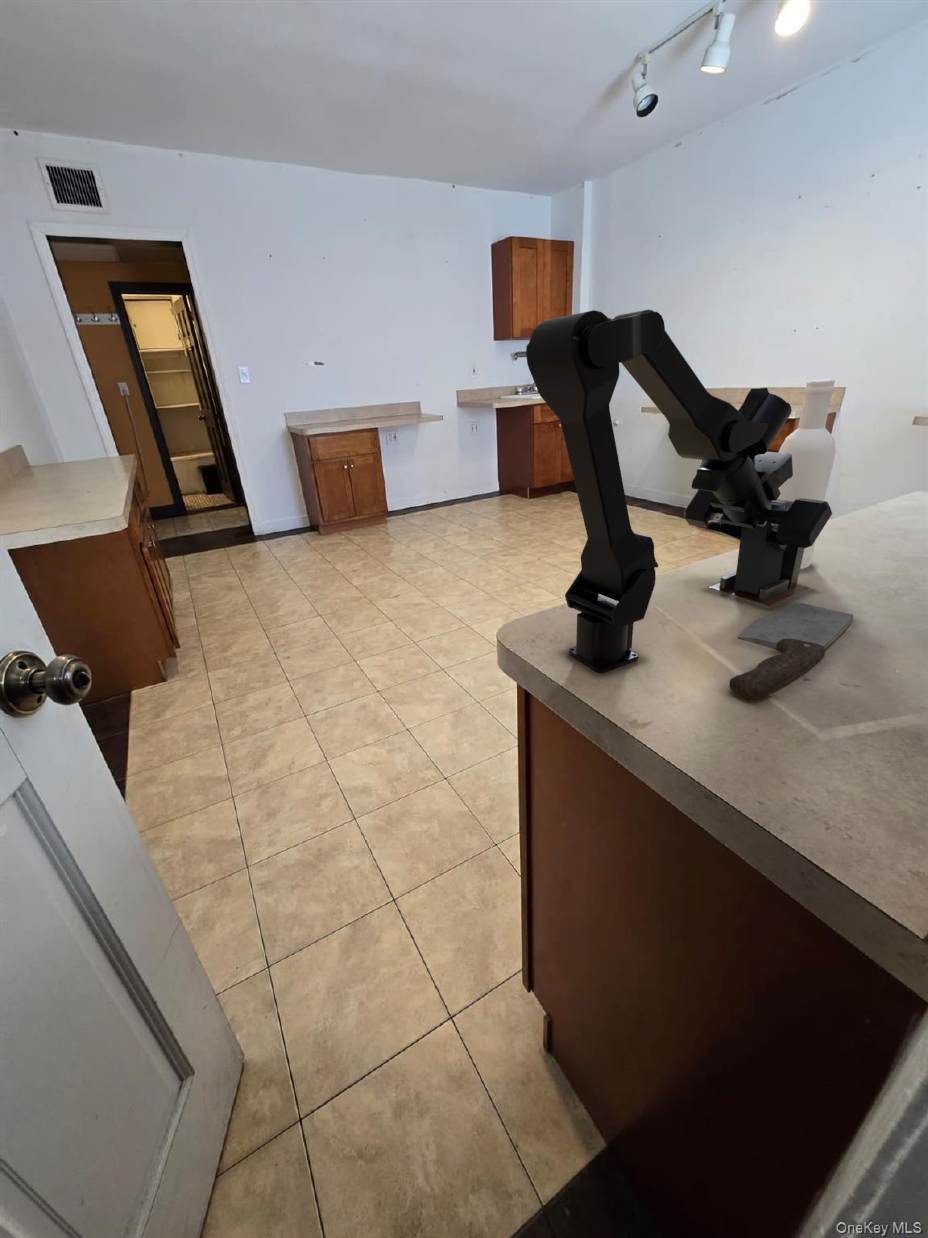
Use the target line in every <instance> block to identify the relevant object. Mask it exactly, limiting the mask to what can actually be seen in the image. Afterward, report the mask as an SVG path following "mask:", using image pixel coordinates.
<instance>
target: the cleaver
mask: <svg viewBox="0 0 928 1238" xmlns="http://www.w3.org/2000/svg"><path fill="white" fill-rule="evenodd" d="M853 620H854V614H852V613H848V612H843V611H839V610H834V609H830V608H825V607H820V606H816V605H812V604H806V603H802V602H792V603H789V604H787V605H785V606H782V607H780V608H777V609H776V610H773V611H771V612H769V613H767V614H765V615H763V616H761V617H759V618H758V619H756V620H754V621H753V622H751V623H750V624H749V625H748V626H747V627H746V628H744V629H743V631H742V632H741V633H740V634H739V635H738V638H739V639H741V640H744V641H746V642H748V643H752V644H757V645H760V646H764V647H767V648H770V649H773V650H776V651H778V652H779V654H776V655H772V656H770V657H768V658H765V659H763V660H761V661H760V662H759V663H758V664H757V665H756V667H755V668H753V669H752V670H749V671H746V672H743V673H740V674H737V675H735V676H733V677H732V678H730V679H729V682H728V683H729V685H728V686H729V689H730V691H732V692H734V693H736V694H739V695H741V696H744V697H746V698H748V699H749V698H750V699H759V698H762V697H764V696H767V695H769V694H771V693H773V692H775V691H777V690H779V689H781V688H782V687H784V686H786V685H787V684H789V683H791V682H793V681H795V680H796V679H797V678H799V677H800V676H802V675H803V674H805V673H806V672H808V671H810V669H812V668H813V667H814V666H816V665H817V664H818V663H820V662H821V660H823V658H824V657H825V654H826V649H828V648H829V647H830V646H832V644H833V643H834V642H835V641H836V640H837V639H838V638H840V636H841V635H843V633H845V631H846V630H847V629H848V628H849V626H850V625H851V623H852V622H853Z"/></svg>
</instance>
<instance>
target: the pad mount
mask: <svg viewBox="0 0 928 1238" xmlns="http://www.w3.org/2000/svg"><path fill="white" fill-rule="evenodd" d="M786 502H791V503H793V502H794V501H787V500H779V499H777V500H776V501H774V500H773V501H772V502H771V503H780V504H783V503H786ZM803 553H804V548H801V547H796V546H791V545H788V547H787V548H786V550H785V551H784V554H783V560H782V567H781V573H780V580H779V581H778V582H776V583H773V584H771V585H768V586H766V587H764V588H761V589H760V594H759V595H758V594H753V593H749V592H745V591H740V590H736V589H734V587H735V579H736V571H735V572H733V573H729V574H728V575H725V576H722V577H720V581H719V582H718V583H716V584H713V585H710V586H708V589H711V590H715V591H718V592H721V593H725V594H728V595H732V596H734V597H738V598H740V599H745V600H748V601H751V602H754V603H758V604H761V605H764V606H767V607H771V606H773V605H776V604H777V603H780V602H782V601H784V600H786V599H789V598H790V597H793V596H795V595H797V594H799V593H801V592H803V591H806V590H808V589H810V588H811V587H810V586H806V585H802V584H798V581H799V576H800V571H801V569H800V567H801V562H802V558H803Z"/></svg>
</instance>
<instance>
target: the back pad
mask: <svg viewBox="0 0 928 1238" xmlns="http://www.w3.org/2000/svg"><path fill="white" fill-rule="evenodd" d="M771 504H774V505H782V504H780V503H771ZM772 528H773V527H772V526H771V522H767V524H766V526H764V527H761V526H756V527H755V529H752V528H747V527H742V530H741V538H740V541H739V546H738V555H737V564H736V571H735V572H736V579H735V587H734V589H736V590H740V591H745V592H749V593H753V594H758V595H759V594H760V589H761V588H764V587H766V586H768V585H771V584H773V583H776V582H778V581H779V580H780V573H781V567H782V560H783V554H784V551H781V550H779V549H777V548H775V547H774V546H772V545H770V544H769V543H767V542H765V540H766V538H767V537H768V535H769V533H770V532H771V530H772Z"/></svg>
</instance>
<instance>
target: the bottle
mask: <svg viewBox="0 0 928 1238" xmlns="http://www.w3.org/2000/svg"><path fill="white" fill-rule="evenodd" d="M835 383H836V380H835V379H834V378H824V379H823V378H822V379H809V380H808V381H806V385H805V388H804V390H803V394H804V396H803V400H802V406H801V411H800V416H799V420H798V427H797V428H796V429H795V430H794V431H792V432H791V433H790V434H789V435H787V436H786V437H785V439H784V441H783V443H781V446H780V448H779V450H778V453H789V454H791V455H792V467H793V476H792V477H791V478H789V479H788V480H787V481H786V482H785V483H784V484H782V485H781V486H780V487H779V491H780V493H781V494H780V496H779V497H778V499H779V500H787V501H795V500H796V499H799V498H804V499H812V500H820V501H826V497H827V493H828V487H829V482H830V478H831V474H832V469H833V465H834V460H835V456H836V453H837V452H836V451H837V450H836V441H835V438H834V436H833V435H832V434H831V432H829V430H828V429H827V428H826V426H827V425H826V424H827V422H828V421H827V420H828V416H829V410H830V406H831V402H832V397H833V393H834V392H835ZM816 540H817V539H816ZM816 540H815V542H814V543H813V545H812V546H810V547H807V548H804V553H803V558H802V562H801V567H800V570H802V569H803V570H804V569H806V568H809V567H810V566H811V562H812V560H813V557H814V552H815V545H816Z"/></svg>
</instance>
